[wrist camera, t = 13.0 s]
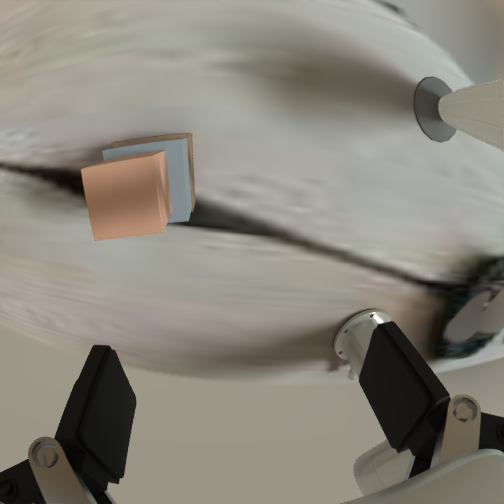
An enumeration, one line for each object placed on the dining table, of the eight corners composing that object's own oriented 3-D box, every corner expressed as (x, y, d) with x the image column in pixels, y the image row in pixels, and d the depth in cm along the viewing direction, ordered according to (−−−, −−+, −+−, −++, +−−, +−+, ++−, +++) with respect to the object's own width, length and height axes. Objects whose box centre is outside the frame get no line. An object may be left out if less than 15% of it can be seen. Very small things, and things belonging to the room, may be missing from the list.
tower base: (195, 201, 36) (192, 211, 32) (130, 206, 35) (119, 217, 31) (192, 133, 33) (189, 133, 28) (124, 140, 32) (111, 142, 27)
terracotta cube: (172, 211, 27) (162, 232, 21) (115, 218, 26) (94, 240, 21) (165, 149, 24) (152, 155, 19) (106, 159, 23) (80, 169, 18)
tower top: (192, 207, 32) (188, 220, 27) (126, 213, 31) (113, 228, 26) (187, 137, 28) (182, 139, 24) (118, 146, 27) (102, 150, 23)
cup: (444, 70, 31) (545, 70, 12) (465, 129, 36) (561, 152, 16) (403, 87, 32) (519, 86, 13) (428, 152, 37) (535, 186, 18)
